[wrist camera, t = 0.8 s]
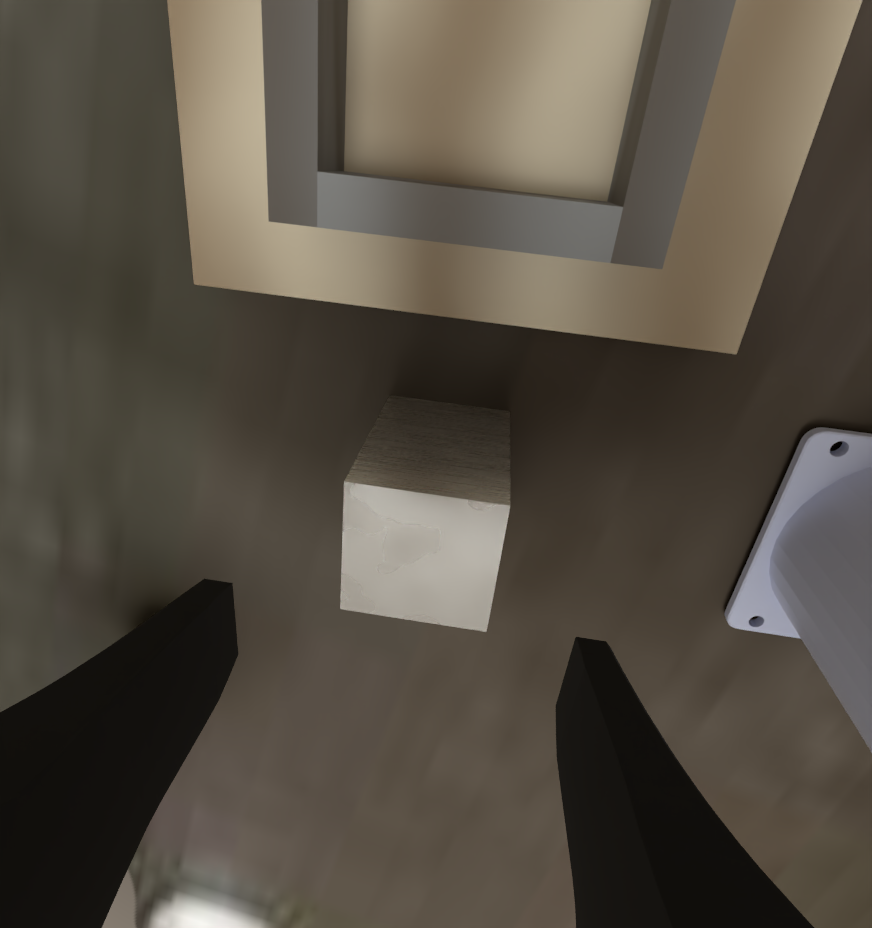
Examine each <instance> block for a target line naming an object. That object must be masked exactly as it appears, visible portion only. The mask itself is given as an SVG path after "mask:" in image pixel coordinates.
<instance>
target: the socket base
mask: <svg viewBox="0 0 872 928" xmlns="http://www.w3.org/2000/svg"><path fill="white" fill-rule="evenodd" d="M167 2H168V13H169V24H170V34H171V45H172V55H173V66H174V77H175V87H176V98H177V108H178V119H179V130H180V140H181V151H182V161H183V172H184V183H185V193H186V204H187V214H188V225H189V236H190V246H191V257H192V267H193V278H194V284H195V285H203V286H210V287H218V288H226V289H234V290H241V291H249V292H257V293H265V294H272V295H280V296H288V297H296V298H303V299H311V300H319V301H327V302H335V303H342V304H350V305H358V306H366V307H373V308H381V309H389V310H397V311H404V312H412V313H420V314H428V315H435V316H443V317H451V318H459V319H466V320H474V321H482V322H490V323H497V324H505V325H513V326H521V327H529V328H536V329H544V330H552V331H560V332H567V333H575V334H583V335H591V336H598V337H606V338H614V339H622V340H629V341H637V342H645V343H653V344H660V345H668V346H676V347H684V348H692V349H699V350H707V351H715V352H723V353H730V354H737V351H738V349H739V346H740V343H741V340H742V337H743V334H744V332H745V329H746V326H747V323H748V320H749V318H750V315H751V312H752V309H753V306H754V304H755V301H756V298H757V295H758V292H759V290H760V287H761V284H762V281H763V278H764V276H765V273H766V270H767V267H768V264H769V261H770V259H771V256H772V253H773V250H774V247H775V245H776V242H777V239H778V236H779V233H780V231H781V228H782V225H783V222H784V219H785V217H786V214H787V211H788V208H789V205H790V202H791V200H792V197H793V194H794V191H795V188H796V186H797V183H798V180H799V177H800V174H801V172H802V169H803V166H804V163H805V160H806V158H807V155H808V152H809V149H810V146H811V143H812V141H813V138H814V135H815V132H816V129H817V127H818V124H819V121H820V118H821V115H822V113H823V110H824V107H825V104H826V101H827V99H828V96H829V93H830V90H831V87H832V85H833V82H834V79H835V76H836V73H837V70H838V68H839V65H840V62H841V59H842V56H843V54H844V51H845V48H846V45H847V42H848V40H849V37H850V34H851V31H852V28H853V26H854V23H855V20H856V17H857V14H858V11H859V9H860V6H861V3H862V0H167Z"/></svg>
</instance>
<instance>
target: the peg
mask: <svg viewBox="0 0 872 928" xmlns="http://www.w3.org/2000/svg"><path fill="white" fill-rule="evenodd" d="M509 510H510V411H503V410H496V409H489V408H481V407H474V406H467V405H459V404H452V403H445V402H437V401H430V400H423V399H415V398H408V397H401V396H394V395H390V396H389V398H388V400H387V401H386V403H385V405H384V407H383V409H382V411H381V413H380V415H379V417H378V418H377V420H376V422H375V424H374V426H373V428H372V430H371V432H370V434H369V436H368V437H367V439H366V441H365V443H364V445H363V447H362V449H361V451H360V453H359V454H358V456H357V458H356V460H355V462H354V464H353V466H352V468H351V470H350V472H349V473H348V475H347V477H346V479H345V481H344V504H343V537H342V571H341V604H340V609H344V610H350V611H357V612H363V613H369V614H376V615H382V616H388V617H395V618H401V619H407V620H414V621H420V622H426V623H433V624H439V625H446V626H452V627H458V628H465V629H471V630H477V631H484V632H487V626H488V621H489V616H490V610H491V605H492V600H493V595H494V589H495V584H496V579H497V574H498V568H499V563H500V558H501V553H502V547H503V542H504V537H505V531H506V526H507V521H508V516H509Z"/></svg>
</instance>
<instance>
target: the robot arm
mask: <svg viewBox="0 0 872 928" xmlns="http://www.w3.org/2000/svg"><path fill="white" fill-rule="evenodd" d="M839 441H842V445H841V446H840V448H839V449H837V450H835V451H830V448H831V446H832V445H833V444H834V443H836V442H839ZM724 615H725V617H726V620H727V622H728V624H729V625H730V626H731V627H733V628H736V629H742V630H748V631H755V632H761V633H768V634H774V635H781V636H787V637H794V638H800V639H802V641H803V643H804V644H805V646H806V647H807V649H808V651H809V652H810V654H811V655H812V657H813V659H814V660H815V662H816V663H817V665H818V667H819V668H820V670H821V672H822V673H823V675H824V676H825V678H826V680H827V681H828V683H829V684H830V686H831V688H832V689H833V691H834V693H835V694H836V696H837V697H838V699H839V701H840V702H841V704H842V705H843V707H844V709H845V710H846V712H847V714H848V715H849V717H850V718H851V720H852V722H853V723H854V725H855V726H856V728H857V730H858V731H859V733H860V735H861V736H862V738H863V739H864V741H865V743H866V744H867V746H868V747H869V749H870V751H871V752H872V434H870V433H862V432H855V431H847V430H840V429H833V428H825V427H819V428H814V429H812V430H810V431H808V432H807V433H806V434H804V436H803V437H802V439H801V440H800V442H799V445H798V447H797V449H796V451H795V454H794V456H793V458H792V461H791V463H790V465H789V467H788V470H787V472H786V474H785V476H784V479H783V481H782V483H781V485H780V488H779V490H778V492H777V494H776V497H775V499H774V501H773V504H772V506H771V508H770V510H769V513H768V515H767V517H766V519H765V522H764V524H763V526H762V528H761V531H760V533H759V535H758V537H757V540H756V542H755V544H754V547H753V549H752V551H751V553H750V556H749V558H748V560H747V562H746V565H745V567H744V569H743V571H742V574H741V576H740V578H739V580H738V583H737V585H736V587H735V590H734V592H733V594H732V596H731V599H730V601H729V603H728V605H727V608H726V610H725V614H724ZM754 616H759V617H758V618H756V619H751V618H752V617H754ZM750 619H751V620H750ZM237 656H238V646H237V634H236V622H235V610H234V598H233V586H232V583H227V582H221V581H214V580H208V579H204V580H202V581H201V582H199V583H198V584H196V585H195V586H194V587H192V588H191V589H189V590H188V591H187V592H185V593H184V594H182V595H181V596H180V597H178V598H177V599H176V600H174V601H173V602H171V603H170V604H169V605H167V606H166V607H165V608H163V609H162V610H160V611H159V612H158V613H156V614H155V615H154V616H152V617H151V618H149V619H148V620H147V621H145V622H144V623H142V624H141V625H140V626H138V627H137V628H135V629H134V630H132V631H131V632H130V633H128V634H127V635H125V636H124V637H122V638H121V639H120V640H118V641H117V642H115V643H114V644H112V645H111V646H110V647H108V648H107V649H105V650H104V651H102V652H100V653H99V654H97V655H96V656H94V657H93V658H91V659H90V660H88V661H87V662H85V663H83V664H82V665H80V666H79V667H77V668H76V669H74V670H73V671H71V672H70V673H68V674H66V675H65V676H63V677H62V678H60V679H58V680H57V681H55V682H53V683H52V684H50V685H48V686H47V687H45V688H43V689H42V690H40V691H38V692H36V693H35V694H33V695H31V696H29V697H27V698H26V699H24V700H22V701H20V702H18V703H17V704H15V705H13V706H11V707H9V708H8V709H6V710H4V711H2V712H0V928H102V925H103V923H104V921H105V919H106V917H107V914H108V912H109V910H110V907H111V905H112V903H113V901H114V898H115V896H116V894H117V891H118V889H119V887H120V885H121V883H122V880H123V878H124V876H125V874H126V872H127V870H128V867H129V865H130V863H131V861H132V859H133V857H134V854H135V852H136V850H137V848H138V846H139V844H140V841H141V839H142V837H143V835H144V833H145V831H146V829H147V827H148V825H149V823H150V821H151V819H152V817H153V815H154V813H155V811H156V810H157V808H158V806H159V804H160V802H161V800H162V799H163V797H164V795H165V793H166V792H167V790H168V788H169V786H170V785H171V783H172V781H173V780H174V778H175V776H176V774H177V773H178V771H179V769H180V767H181V766H182V764H183V762H184V760H185V759H186V757H187V755H188V754H189V752H190V750H191V748H192V747H193V745H194V743H195V741H196V740H197V738H198V736H199V734H200V733H201V731H202V729H203V727H204V726H205V724H206V722H207V720H208V719H209V717H210V715H211V713H212V711H213V710H214V708H215V706H216V704H217V702H218V701H219V699H220V696H221V694H222V692H223V689H224V687H225V685H226V683H227V680H228V678H229V676H230V673H231V671H232V668H233V666H234V663H235V661H236V658H237ZM556 745H557V762H558V770H559V778H560V786H561V794H562V801H563V809H564V816H565V824H566V832H567V839H568V847H569V854H570V862H571V869H572V877H573V887H574V897H575V910H576V928H814V927H813V926H812V925H811V924H810V923H809V922H808V921H807V919H806V918H805V917H804V916H803V915H802V914H801V913H800V912H799V911H798V910H797V908H796V907H795V906H794V905H793V904H792V903H791V902H790V901H789V900H788V898H787V897H786V896H785V895H784V894H783V893H782V892H781V891H780V890H779V889H778V887H777V886H776V885H775V884H774V883H773V882H772V881H771V880H770V879H769V878H768V876H767V875H766V874H765V873H764V872H763V871H762V870H761V869H760V867H759V866H758V865H757V864H756V863H755V861H754V860H753V859H752V858H751V857H750V855H749V854H748V853H747V852H746V851H745V850H744V848H743V847H742V846H741V845H740V844H739V842H738V841H737V840H736V839H735V837H734V836H733V835H732V833H731V832H730V831H729V830H728V828H727V827H726V826H725V825H724V823H723V822H722V821H721V820H720V818H719V817H718V816H717V814H716V813H715V812H714V810H713V809H712V808H711V806H710V805H709V804H708V802H707V801H706V800H705V798H704V797H703V796H702V794H701V793H700V792H699V790H698V789H697V787H696V786H695V785H694V783H693V782H692V780H691V779H690V777H689V776H688V775H687V773H686V772H685V770H684V769H683V767H682V766H681V764H680V763H679V762H678V760H677V759H676V757H675V756H674V754H673V753H672V751H671V750H670V748H669V747H668V745H667V743H666V742H665V740H664V739H663V737H662V735H661V734H660V732H659V731H658V729H657V728H656V726H655V724H654V723H653V721H652V720H651V718H650V716H649V715H648V713H647V711H646V710H645V708H644V706H643V705H642V703H641V701H640V700H639V698H638V696H637V695H636V693H635V691H634V689H633V688H632V686H631V684H630V682H629V681H628V679H627V677H626V675H625V674H624V672H623V670H622V668H621V666H620V664H619V663H618V661H617V659H616V657H615V655H614V653H613V652H612V650H611V648H610V646H609V645H608V644H607V642H606V641H599V640H593V639H586V638H580V637H576V638H575V641H574V645H573V648H572V652H571V655H570V659H569V662H568V666H567V669H566V673H565V676H564V679H563V683H562V686H561V690H560V693H559V697H558V700H557V704H556Z"/></svg>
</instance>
